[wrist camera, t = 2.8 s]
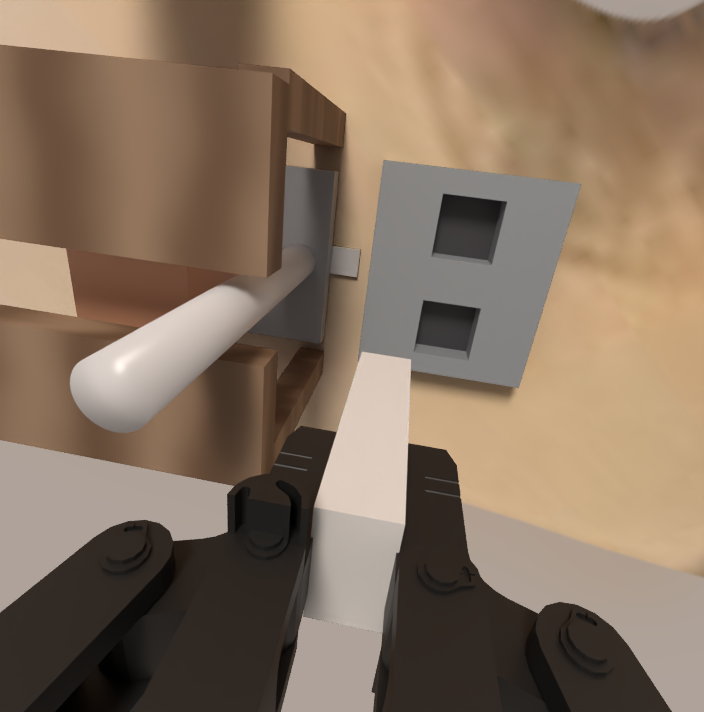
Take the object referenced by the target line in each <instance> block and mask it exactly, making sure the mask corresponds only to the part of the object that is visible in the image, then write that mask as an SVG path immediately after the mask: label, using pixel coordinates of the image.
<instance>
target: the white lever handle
mask: <svg viewBox="0 0 704 712" xmlns="http://www.w3.org/2000/svg"><path fill="white" fill-rule="evenodd" d="M338 177H339V172H338V171H330V170H321V169H313V168H305V167H297V166H289V165H286V173H285V196H284V220H283V243H282V266H281V269H279V270H278V271H276V272H275V273H273V274H272V275H271V276H269V277H268V278H262V277H255V276H248V275H242V274H235V273H228V272H222V271H215V270H208V269H201V268H195V267H188V266H181V265H175V264H168V263H161V262H154V261H148V260H141V259H134V258H127V257H121V256H114V255H107V254H101V253H94V252H87V251H80V250H74V249H67V248H66V250H67V256H68V262H69V268H70V274H71V281H72V287H73V293H74V299H75V305H76V311H77V317H79V318H85V319H91V320H97V321H103V322H109V323H116V324H122V325H128V326H134V327H140V328H139V329H137V330H135V331H134V332H132V333H130V334H128V335H126V336H125V337H123V338H121V339H119V340H117V341H116V342H114V343H112V344H110V345H108V346H106V347H105V348H103V349H101V350H99V351H97V352H96V353H94V354H92V355H90V356H88V357H86V358H85V359H83V360H81V361H80V362H78V363H77V364H76V366H75V367H74V368H73V370H72V373H71V376H70V389H71V393H72V396H73V398H74V400H75V402H76V404H77V406H78V407H79V409H80V410H81V411H82V413H83V414H84V415H85V416H86V417H87V418H89V419H90V420H91V421H92V422H94V423H95V424H97V425H98V426H100V427H102V428H104V429H106V430H109V431H113V432H117V433H130V432H134V431H137V430H139V429H140V428H142V427H143V426H144V425H145V424H146V423H148V422H149V421H150V420H151V419H152V418H153V417H154V416H155V415H156V414H157V413H158V412H160V411H161V410H162V409H163V408H164V407H165V406H166V405H167V404H168V403H169V402H171V401H172V400H173V399H174V398H175V397H176V396H177V395H178V394H179V393H180V392H182V391H183V390H184V389H185V388H186V387H187V386H188V385H189V384H190V383H191V382H193V381H194V380H195V379H196V378H197V377H198V376H199V375H200V374H201V373H202V372H203V371H205V370H206V369H207V368H208V367H209V366H210V365H211V364H212V363H213V362H214V361H216V360H217V359H218V358H219V357H220V356H221V355H222V354H223V353H224V352H225V351H227V350H228V349H229V348H230V347H231V346H232V345H233V344H234V343H235V342H236V341H237V340H239V339H240V338H241V337H242V336H243V335H244V334H245V333H246V332H249V333H256V334H262V335H268V336H274V337H280V338H287V339H293V340H299V341H305V342H311V343H318V344H320V343H321V341H322V340H323V338H324V333H325V321H326V310H327V299H328V288H329V277H330V266H331V255H332V244H333V233H334V222H335V211H336V200H337V188H338Z"/></svg>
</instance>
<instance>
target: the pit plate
mask: <svg viewBox="0 0 704 712" xmlns="http://www.w3.org/2000/svg"><path fill="white" fill-rule="evenodd" d="M580 187H581V184H580V183H571V182H563V181H554V180H546V179H538V178H529V177H521V176H513V175H504V174H496V173H488V172H479V171H471V170H463V169H454V168H446V167H437V166H429V165H421V164H412V163H404V162H396V161H387V160H384V161H383V169H382V177H381V185H380V193H379V200H378V208H377V216H376V224H375V231H374V239H373V247H372V255H371V263H370V270H369V278H368V286H367V294H366V302H365V309H364V317H363V325H362V333H361V340H360V348H359V356H358V362H359V359H360V356H361V353H362V352H368V353H374V354H380V355H387V356H393V357H399V358H405V359H411V371H417V372H424V373H430V374H436V375H442V376H448V377H454V378H460V379H466V380H472V381H478V382H485V383H491V384H497V385H503V386H509V387H515V388H519V385H520V382H521V379H522V375H523V372H524V369H525V366H526V362H527V359H528V356H529V353H530V349H531V346H532V343H533V340H534V336H535V333H536V330H537V327H538V324H539V320H540V317H541V314H542V311H543V307H544V304H545V301H546V298H547V294H548V291H549V288H550V285H551V281H552V278H553V275H554V272H555V268H556V265H557V262H558V259H559V255H560V252H561V249H562V246H563V242H564V239H565V236H566V233H567V229H568V226H569V223H570V220H571V217H572V213H573V210H574V207H575V204H576V200H577V197H578V194H579V191H580Z"/></svg>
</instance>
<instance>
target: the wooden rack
mask: <svg viewBox="0 0 704 712" xmlns="http://www.w3.org/2000/svg"><path fill="white" fill-rule="evenodd" d="M345 118H346V113H345V112H343V111H342V110H341V109H340V108H338V107H337V106H336V105H335V104H333V103H332V102H331V101H330V100H328V99H327V98H326V97H325V96H323V95H322V94H321V93H320V92H318V91H317V90H316V89H315V88H313V87H312V86H311V85H310V84H308V83H307V82H306V81H305V80H304V79H302V78H301V77H300V76H299V75H297V74H296V73H295V72H294V71H292V70H291V69H288V68H279V67H269V66H259V65H249V64H239V69H230V68H220V67H210V66H200V65H191V64H181V63H171V62H162V61H152V60H142V59H133V58H123V57H113V56H104V55H94V54H84V53H75V52H65V51H55V50H46V49H36V48H26V47H17V46H7V45H0V239H7V240H13V241H20V242H27V243H33V244H40V245H47V246H54V247H60V248H67V249H74V250H80V251H87V252H94V253H101V254H107V255H114V256H121V257H127V258H134V259H141V260H148V261H154V262H161V263H168V264H175V265H181V266H188V267H195V268H201V269H208V270H215V271H222V272H228V273H235V274H242V275H248V276H255V277H262V278H268V277H269V276H271V275H272V274H273V273H275V272H276V271H278V270H279V269H281V266H282V243H283V220H284V196H285V173H286V150H287V137H290V138H294V139H297V140H301V141H305V142H308V143H312V144H318V145H326V146H335V147H343V139H344V129H345ZM360 251H361V249H354V248H347V247H340V246H333V245H332V255H331V266H330V273H331V274H338V275H344V276H351V277H357V276H358V268H359V259H360ZM139 328H140V327H134V326H128V325H122V324H116V323H109V322H103V321H97V320H91V319H85V318H79V317H73V316H67V315H61V314H55V313H49V312H42V311H36V310H30V309H24V308H18V307H12V306H6V305H0V440H3V441H9V442H14V443H18V444H24V445H29V446H34V447H39V448H44V449H49V450H54V451H60V452H64V453H69V454H75V455H80V456H85V457H90V458H95V459H100V460H106V461H110V462H115V463H121V464H126V465H131V466H136V467H141V468H146V469H151V470H156V471H162V472H166V473H172V474H177V475H182V476H187V477H193V478H197V479H202V480H207V481H212V482H218V483H223V484H228V485H233V486H235V485H236V484H238V483H239V482H241V481H243V480H245V479H247V478H249V477H252V476H257V475H262V474H269V473H270V471H271V469H272V467H273V466H274V464H275V461H276V459H277V457H278V455H279V454H280V451H281V449H282V447H283V445H284V443H285V441H286V438H287V437H288V436H289V435H290V434H292V433H293V431H294V429H295V427H296V425H297V423H298V421H299V419H300V417H301V415H302V413H303V411H304V409H305V407H306V405H307V403H308V401H309V399H310V397H311V395H312V393H313V391H314V389H315V387H316V385H317V383H318V381H319V379H320V376H321V374H322V369H323V358H324V351H319V350H312V349H306V348H300V349H299V350H298V351H297V353H296V354H295V356H294V357H293V359H292V360H291V362H290V363H289V364H288V366H287V367H286V369H285V370H284V372H283V373H282V375H281V376H280V377H279V379H278V380H277V360H278V350H274V349H268V348H262V347H256V346H249V345H243V344H237V343H234V344H233V345H232V346H231V347H230V348H229V349H228V350H227V351H225V352H224V353H223V354H222V355H221V356H220V357H219V358H218V359H217V360H216V361H214V362H213V363H212V364H211V365H210V366H209V367H208V368H207V369H206V370H205V371H203V372H202V373H201V374H200V375H199V376H198V377H197V378H196V379H195V380H194V381H193V382H191V383H190V384H189V385H188V386H187V387H186V388H185V389H184V390H183V391H182V392H180V393H179V394H178V395H177V396H176V397H175V398H174V399H173V400H172V401H171V402H169V403H168V404H167V405H166V406H165V407H164V408H163V409H162V410H161V411H160V412H158V413H157V414H156V415H155V416H154V417H153V418H152V419H151V420H150V421H149V422H148V423H146V424H145V425H144V426H143V427H142V428H140V429H139V430H137V431H134V432H130V433H117V432H113V431H109V430H106V429H104V428H102V427H100V426H98V425H97V424H95V423H94V422H92V421H91V420H90V419H89V418H87V417H86V416H85V415H84V414H83V413H82V411H81V410H80V409H79V407H78V406H77V404H76V402H75V400H74V398H73V396H72V393H71V389H70V376H71V373H72V370H73V368H74V367H75V366H76V364H77V363H78V362H80V361H81V360H83V359H85V358H86V357H88V356H90V355H92V354H94V353H96V352H97V351H99V350H101V349H103V348H105V347H106V346H108V345H110V344H112V343H114V342H116V341H117V340H119V339H121V338H123V337H125V336H126V335H128V334H130V333H132V332H134V331H135V330H137V329H139Z"/></svg>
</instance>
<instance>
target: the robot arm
mask: <svg viewBox="0 0 704 712" xmlns="http://www.w3.org/2000/svg"><path fill="white" fill-rule="evenodd" d="M410 377H411V359H405V358H399V357H393V356H387V355H380V354H374V353H368V352H362V353H361V356H360V359H359V363H358V366H357V369H356V372H355V376H354V379H353V382H352V385H351V388H350V392H349V395H348V398H347V401H346V405H345V408H344V411H343V414H342V417H341V421H340V424H339V427H338V430H337V432H333V431H327V430H321V429H316V428H310V427H304V426H301V427H300V428H298V429H297V430H296V431H294V432H293V433H292V434H290V435H289V436H288V437H287V438H286V441H285V443H284V445H283V447H282V449H281V451H280V454H279V455H278V457H277V459H276V461H275V464H274V466H273V467H272V469H271V471H270V473H269V474H262V475H257V476H252V477H249V478H247V479H245V480H243V481H241V482H239V483H238V484H236V485H235V486H234V487H233V488H232V490H231V491H230V492H229V493H228V494H227V502H228V503H227V505H228V532H227V533H224V534H221V535H218V536H216V537H210V538H204V539H195V540H183V541H173V540H172V537H171V534H170V532H169V530H167V529H166V528H165V527H163V526H162V525H161V524H159V523H156V522H151V521H147V520H139V521H128V522H125V523H122V524H119V525H116V526H113V527H110V528H109V529H107V530H105V531H104V532H102V533H100V534H99V535H97V536H96V537H94V538H93V539H92V540H90V541H89V542H88V543H87V544H85V545H84V546H83V547H82V548H80V549H79V550H78V551H77V552H75V554H73V555H72V556H70V557H69V558H68V559H67V560H65V561H64V562H63V563H62V564H61V565H59V566H58V567H57V568H56V569H54V570H53V571H52V572H50V573H49V574H48V575H47V576H45V577H44V578H43V579H42V580H40V582H38V583H37V584H35V585H34V586H33V587H32V588H31V589H29V590H28V591H27V592H26V593H24V594H23V595H22V596H21V597H19V598H18V599H17V600H16V601H14V602H13V603H12V604H11V605H9V606H8V607H7V608H6V609H4V610H3V611H2V612H1V613H0V712H281V709H282V704H283V701H284V697H285V693H286V689H287V685H288V680H289V677H290V673H291V669H292V665H293V661H294V657H295V653H296V649H297V638H298V630H299V625H300V622H301V618H302V614H303V616H304V617H308V618H312V619H317V620H322V621H326V622H331V623H336V624H341V625H345V626H350V627H355V628H359V629H364V630H368V631H373V632H378V633H382V629H383V633H382V647H381V651H380V656H379V661H378V665H377V670H376V674H375V679H374V683H373V688H372V692H373V693H375V699H374V710H373V712H672V711H671V710H670V708H669V707H668V705H667V704H666V702H665V701H664V699H663V698H662V696H661V695H660V693H659V692H658V690H657V689H656V687H655V686H654V684H653V683H652V681H651V679H650V678H649V677H648V675H647V673H646V672H645V670H644V669H643V667H642V666H641V664H640V663H639V661H638V660H637V658H636V657H635V655H634V654H633V652H632V651H631V649H630V647H629V646H628V645H627V643H626V642H625V641H624V640H623V639H622V637H621V636H620V635H619V634H618V633H617V631H616V630H615V629H614V628H613V627H612V626H611V625H609V624H608V623H606V622H605V621H604V620H603V619H602V618H600V617H599V616H598V615H596V614H595V613H593V612H591V611H589V610H587V609H584V608H582V607H580V606H578V605H575V604H569V603H563V602H558V603H554V604H550V605H546V606H545V607H544V608H543V609H542V611H541V612H540V613H539V614H538V613H536V612H533V611H532V610H529V609H528V608H526V607H523V606H521V605H519V604H517V603H515V602H513V601H511V600H509V599H507V598H505V597H504V596H502V595H501V594H499V593H498V592H496V591H495V590H493V589H492V588H491V587H490V586H489V585H488V584H486V583H485V582H484V581H483V579H482V578H481V577H480V575H479V572H478V569H477V568H476V567H475V565H474V564H473V563H472V562H471V560H470V558H469V554H468V549H467V541H466V534H465V526H464V518H463V511H462V503H461V498H460V488H459V485H458V482H459V480H458V472H457V465H456V464H455V462H454V461H453V459H452V458H451V457H450V455H449V454H448V452H447V451H446V450H443V449H438V448H432V447H426V446H421V445H415V444H409V443H408V432H409V405H410ZM303 610H304V613H303Z"/></svg>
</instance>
